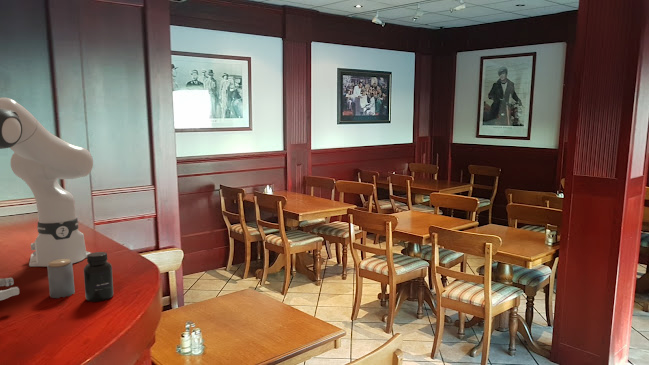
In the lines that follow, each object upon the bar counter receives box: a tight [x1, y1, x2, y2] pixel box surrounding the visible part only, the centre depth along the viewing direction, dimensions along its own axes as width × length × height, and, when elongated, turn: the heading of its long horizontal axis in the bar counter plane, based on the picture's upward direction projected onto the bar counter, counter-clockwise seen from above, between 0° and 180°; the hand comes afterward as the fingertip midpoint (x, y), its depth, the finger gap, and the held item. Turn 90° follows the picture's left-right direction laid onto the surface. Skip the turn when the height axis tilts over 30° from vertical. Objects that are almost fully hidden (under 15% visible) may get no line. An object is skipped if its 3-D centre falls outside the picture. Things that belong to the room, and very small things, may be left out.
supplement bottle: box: [83, 251, 114, 303], centre depth 128 cm, size 7×7×12 cm
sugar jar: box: [46, 259, 76, 299], centre depth 132 cm, size 6×6×9 cm
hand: (16, 285), depth 125 cm, fingers open, 8 cm apart
